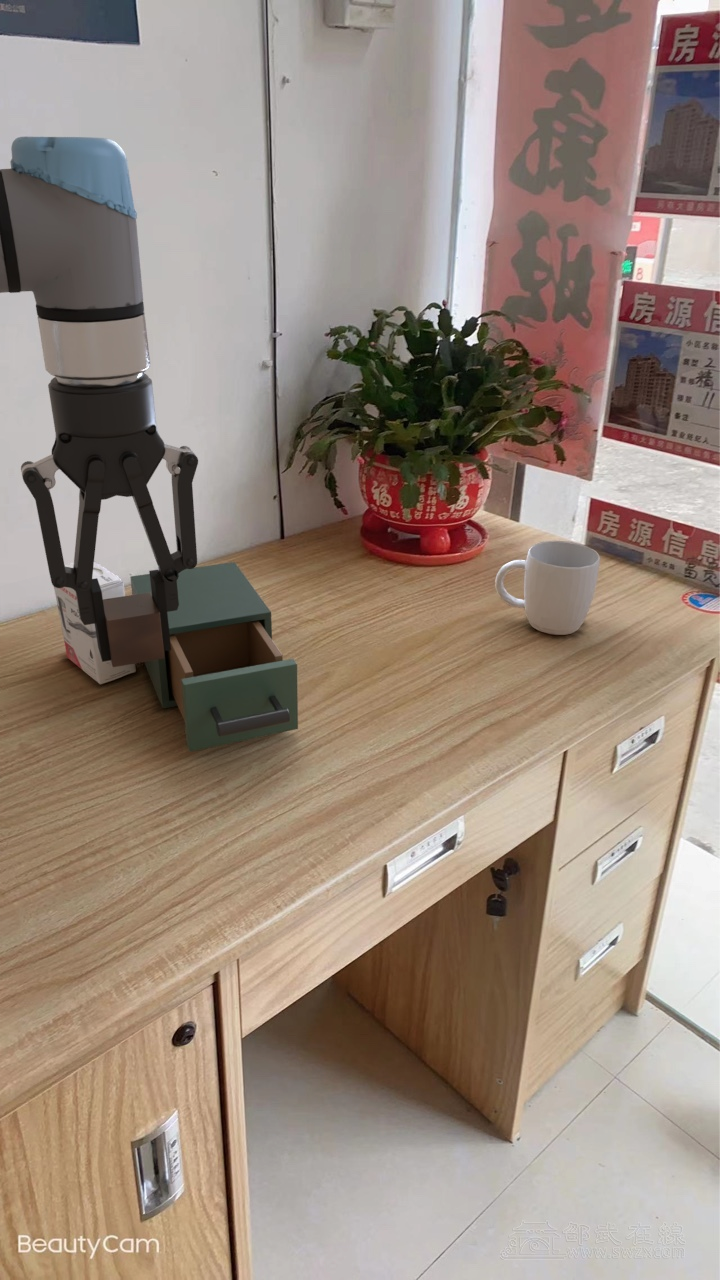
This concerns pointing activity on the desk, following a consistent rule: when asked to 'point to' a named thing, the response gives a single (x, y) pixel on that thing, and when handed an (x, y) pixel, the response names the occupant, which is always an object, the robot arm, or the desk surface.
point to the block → (133, 629)
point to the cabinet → (205, 609)
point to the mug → (554, 585)
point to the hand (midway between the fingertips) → (134, 648)
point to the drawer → (231, 684)
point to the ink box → (89, 628)
